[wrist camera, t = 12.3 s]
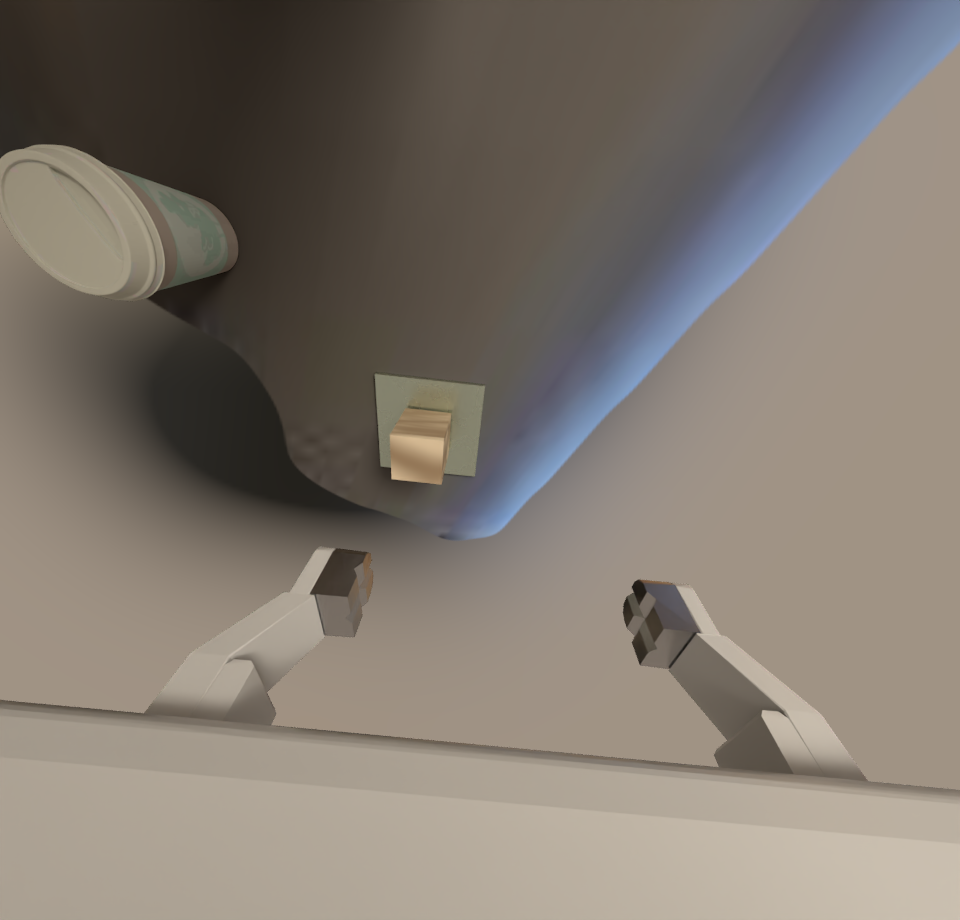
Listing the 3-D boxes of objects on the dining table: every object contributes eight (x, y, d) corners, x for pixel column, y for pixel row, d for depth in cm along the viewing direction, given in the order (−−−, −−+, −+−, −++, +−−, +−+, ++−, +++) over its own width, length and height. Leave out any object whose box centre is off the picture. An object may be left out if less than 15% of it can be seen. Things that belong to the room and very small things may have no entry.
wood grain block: (405, 408, 38) (389, 435, 32) (451, 413, 38) (443, 441, 33) (406, 447, 41) (391, 479, 35) (448, 452, 41) (441, 484, 35)
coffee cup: (260, 297, 34) (156, 317, 23) (170, 277, 33) (24, 288, 23) (246, 190, 29) (112, 157, 19) (142, 165, 29) (-55, 116, 18)
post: (376, 372, 37) (353, 395, 31) (484, 384, 37) (482, 409, 31) (381, 463, 43) (363, 497, 37) (474, 473, 44) (471, 509, 38)
